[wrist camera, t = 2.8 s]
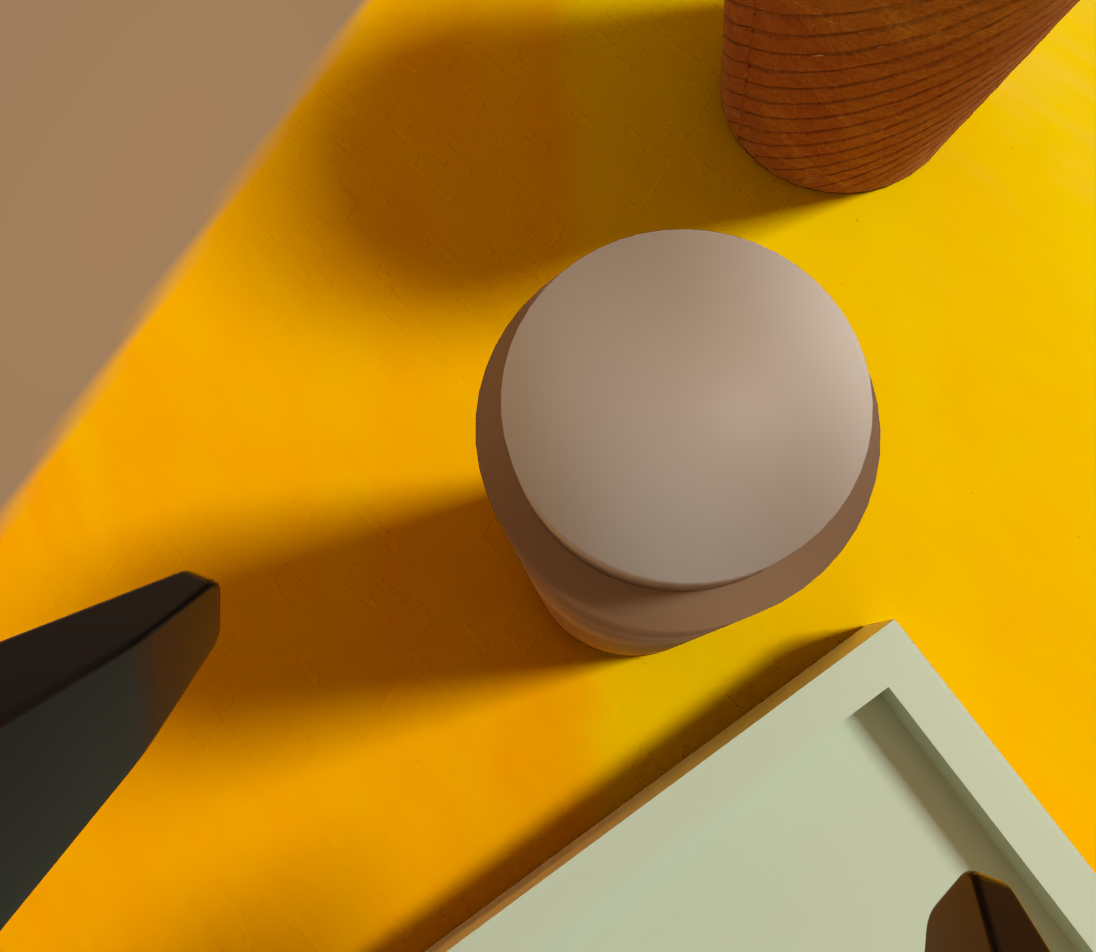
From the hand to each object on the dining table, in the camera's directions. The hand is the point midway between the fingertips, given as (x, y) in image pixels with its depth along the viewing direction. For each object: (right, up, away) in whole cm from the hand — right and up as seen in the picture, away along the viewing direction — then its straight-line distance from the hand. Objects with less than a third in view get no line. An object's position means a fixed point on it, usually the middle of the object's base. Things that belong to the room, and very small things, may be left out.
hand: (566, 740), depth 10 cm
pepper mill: (+2, +1, +11) cm, 11 cm away
